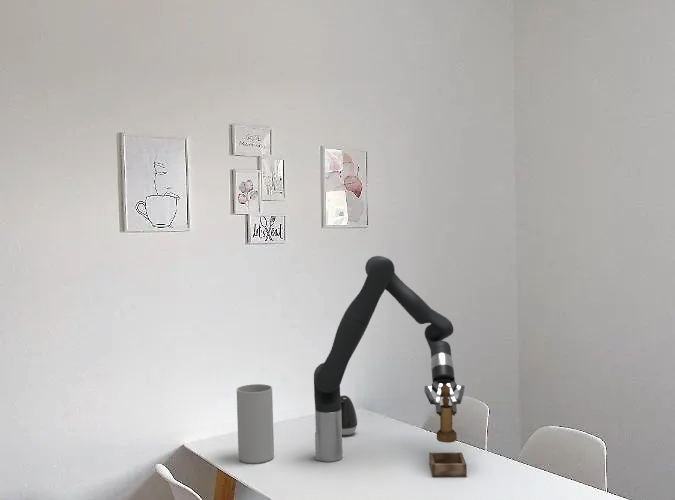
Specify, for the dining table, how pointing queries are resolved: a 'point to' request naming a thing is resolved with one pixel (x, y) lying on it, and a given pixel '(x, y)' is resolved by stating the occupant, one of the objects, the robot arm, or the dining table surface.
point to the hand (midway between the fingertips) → (446, 414)
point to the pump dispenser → (348, 416)
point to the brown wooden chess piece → (446, 419)
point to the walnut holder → (447, 464)
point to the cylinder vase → (255, 423)
